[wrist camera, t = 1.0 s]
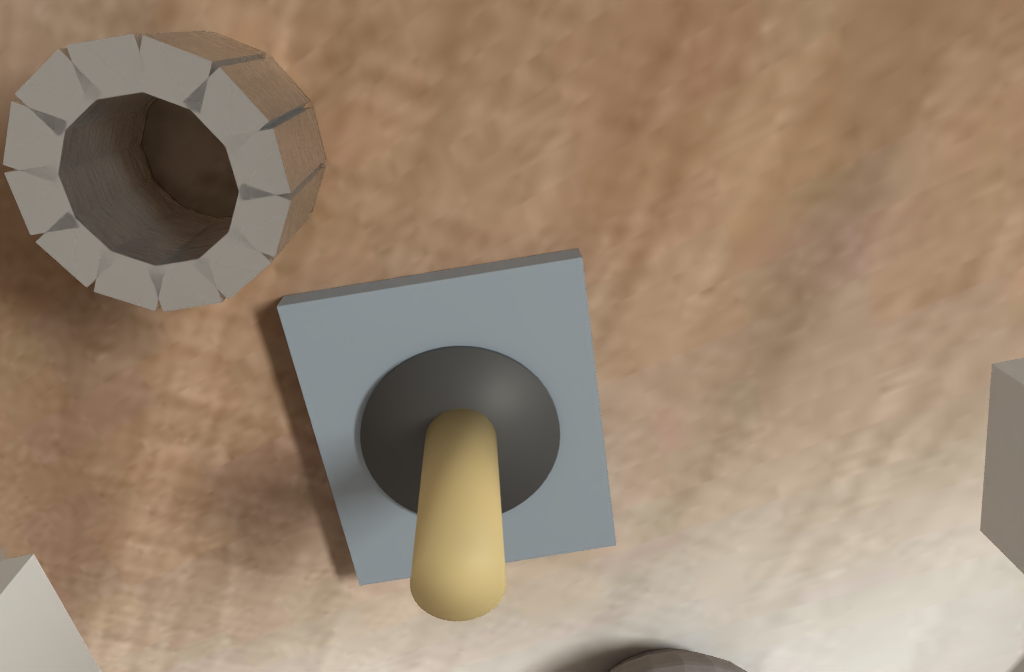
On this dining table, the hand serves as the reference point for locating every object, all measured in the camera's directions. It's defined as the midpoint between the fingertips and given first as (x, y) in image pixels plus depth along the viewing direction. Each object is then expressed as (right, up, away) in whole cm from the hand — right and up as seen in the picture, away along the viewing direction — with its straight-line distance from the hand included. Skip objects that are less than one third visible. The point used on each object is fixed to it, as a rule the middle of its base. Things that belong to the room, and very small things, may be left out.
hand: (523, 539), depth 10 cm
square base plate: (-2, -1, +22) cm, 22 cm away
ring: (-11, +10, +17) cm, 23 cm away
